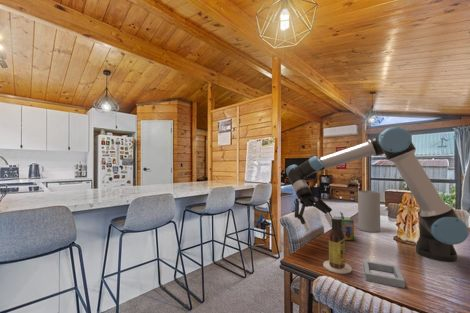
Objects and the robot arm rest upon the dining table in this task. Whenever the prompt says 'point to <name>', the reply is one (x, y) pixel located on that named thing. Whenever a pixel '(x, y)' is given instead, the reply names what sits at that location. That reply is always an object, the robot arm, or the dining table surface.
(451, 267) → the dining table surface
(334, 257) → the sauce bottle
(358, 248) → the dining table surface
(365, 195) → the cylinder vase
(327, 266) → the coaster
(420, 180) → the robot arm
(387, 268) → the pocket frame
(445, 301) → the dining table surface
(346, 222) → the chalk box
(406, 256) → the dining table surface
